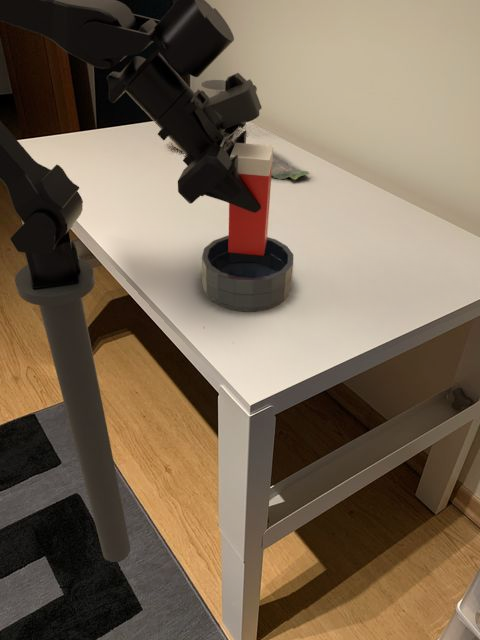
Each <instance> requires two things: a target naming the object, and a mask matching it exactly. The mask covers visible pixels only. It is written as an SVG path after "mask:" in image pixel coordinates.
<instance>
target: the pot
mask: <svg viewBox="0 0 480 640" xmlns="http://www.w3.org/2000/svg"><path fill="white" fill-rule="evenodd" d="M228 240H229V235H225V236H222V237H220V238H217V239H214V240H212V241H211V242H210V243H209V244H208V245H206V246H205V247H204V249H203V250H202V251H203V252H202V255H201V282H202V289H203V291H204V293H205V295H206V297H207V298H208V299H209V300H210V301H211V302H213V303H214V304H216V305H217V306H220V307H222V308H224V309H227V310H231V311H237V312H247V313H249V312H251V313H252V312H262V311H266V310H270V309H274V308H276V307H278V306H279V305H281V304H283V302H285V301H286V300H287V299H288V297H289V296H290V293H291V290H292V283H293V270H294V253H293V252H292V251H291V249H290V248H289V246H287V245H286V244H284V243H283V242H281V241H279V240H277V239H275V238H272V237H269V236H267V242H266V247H265V252H264V256H260V255H250V254H240V253H230V252H228Z"/></svg>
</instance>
